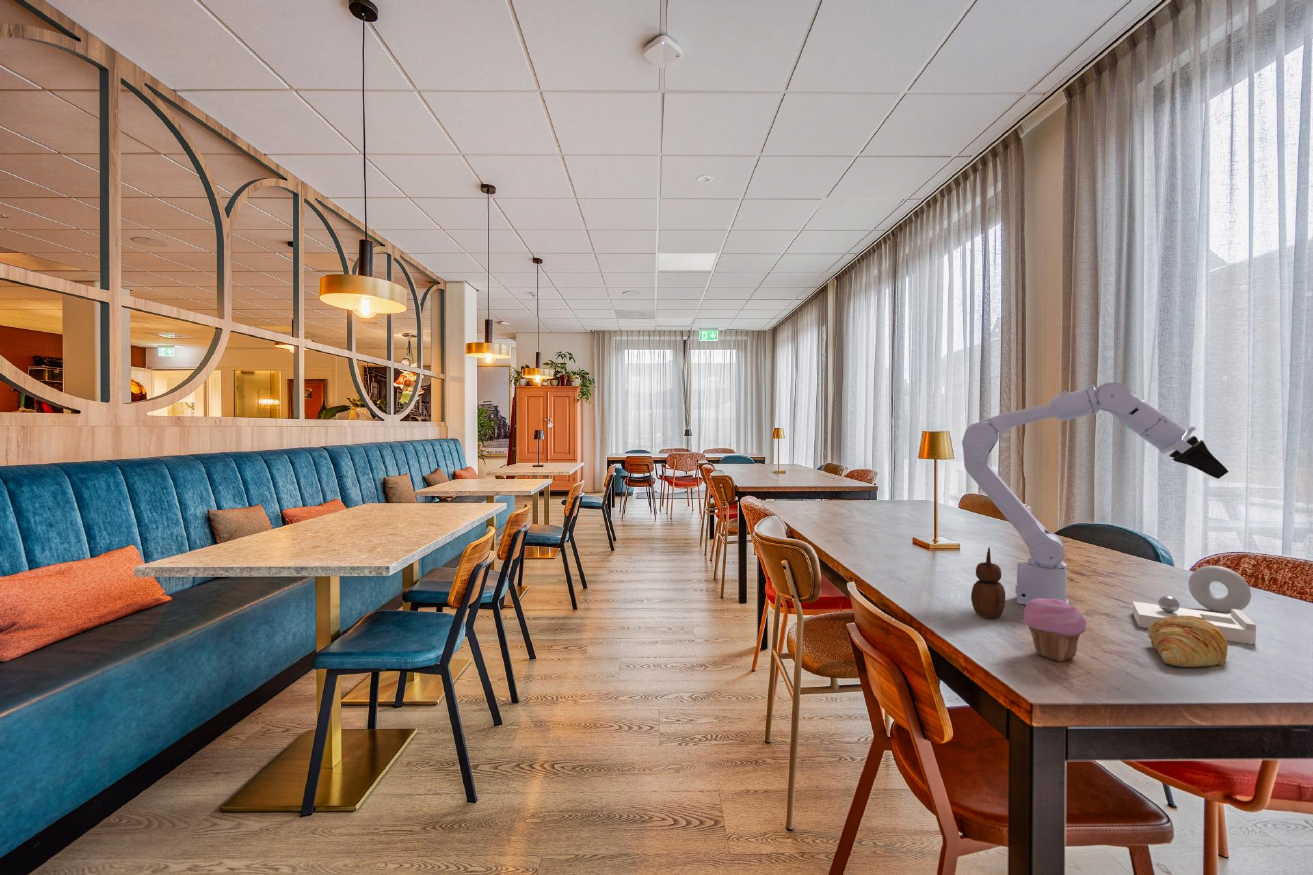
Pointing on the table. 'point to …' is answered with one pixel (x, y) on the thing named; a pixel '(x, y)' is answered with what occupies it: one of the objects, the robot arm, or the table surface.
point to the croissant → (1188, 641)
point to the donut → (1232, 580)
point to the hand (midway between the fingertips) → (1219, 472)
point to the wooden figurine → (988, 590)
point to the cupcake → (1054, 627)
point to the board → (1231, 625)
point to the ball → (1168, 604)
